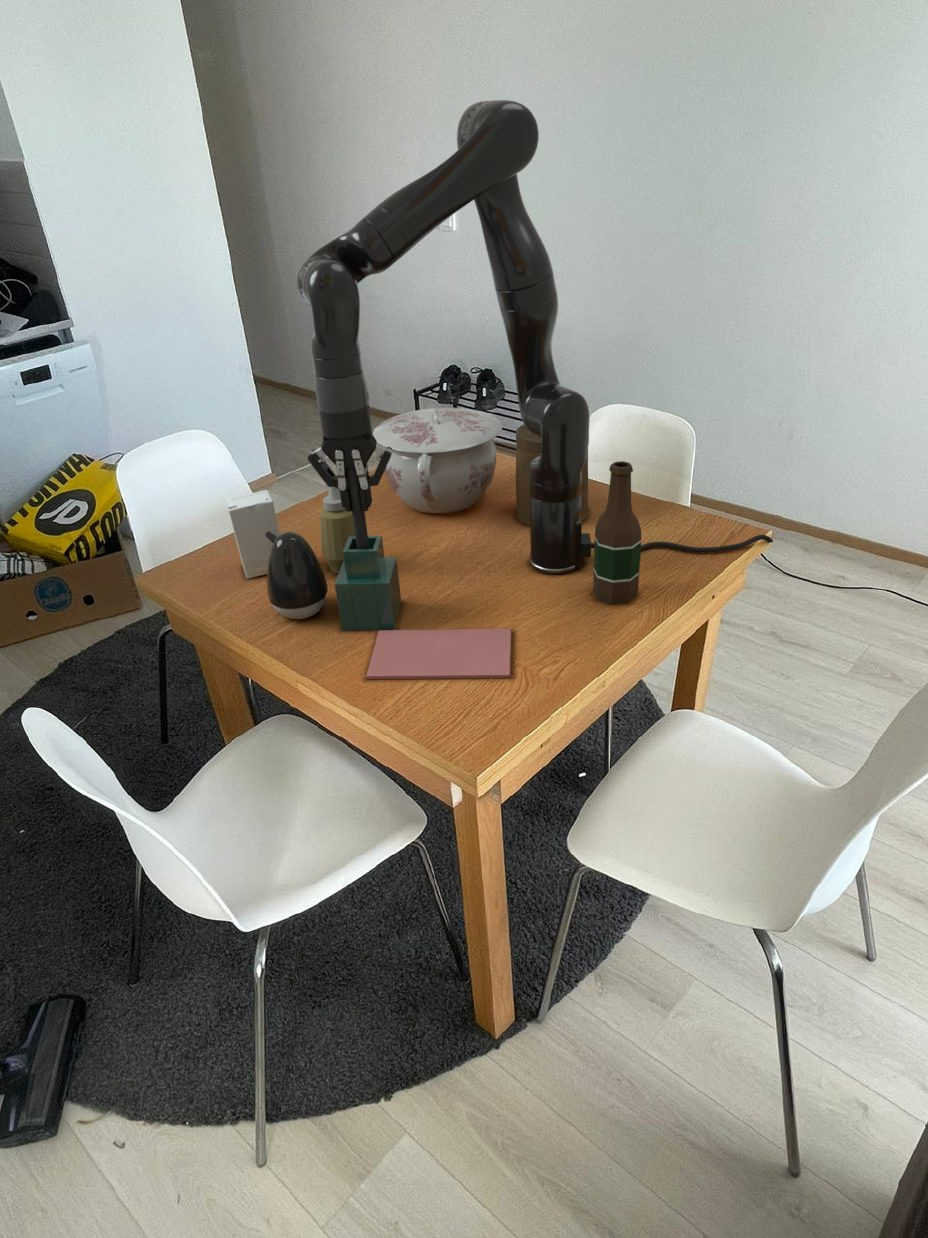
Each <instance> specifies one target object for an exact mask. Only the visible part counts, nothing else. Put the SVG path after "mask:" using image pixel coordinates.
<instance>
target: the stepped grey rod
mask: <svg viewBox="0 0 928 1238" xmlns="http://www.w3.org/2000/svg"><path fill="white" fill-rule="evenodd" d="M346 475H347V481H348V488H349V495H350V502H351V509H352V516H353V523H354V530H355V537H356V544H357V549H370V548H369V541H368V536H369V535H368V534H369V533H368V527H367V520H366V511H363V510H362V504H361V497H360V489H361V487H360V482H359V478H358V476H357V473H356V469H354V468H348V469H346Z"/></svg>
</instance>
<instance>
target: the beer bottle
mask: <svg viewBox="0 0 928 1238" xmlns="http://www.w3.org/2000/svg"><path fill="white" fill-rule="evenodd" d="M608 470H609V472H610V478H609V486H608V487H609V488H608V489H609V490H608V498H607V503H606V507H605V510H604V511H603V512H602V514H601V515H600V516H599V517H598V521H597V523H596V525H595V530H594V542H593V543H594V548H593V549H594V550H593V574H592V575H593V576H592V577H593V579H592V583H593V592H594V594H595V596H596V599H597V600H598V601H599V602H603V603H606V604H609V605H614V606H615V605H622V604H624V605H625V604H629V603H630V602H631V601H632V600H634V599H635V598H636V597H637V596H638V592H639V585H640V584H639V583H640V568H641V567H640V566H641V553H642V551H641V545H642V528H641V524H640V522H639V520H638V518H637V516H636V515H635V513H634V511H633V505H632V504H633V503H632V473H633V472H634V469H633V465H632V463H630V462H627V461H624V460H623V461H622V460H621V461H615V462H613V463H611V464H610V465H609V468H608Z"/></svg>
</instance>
